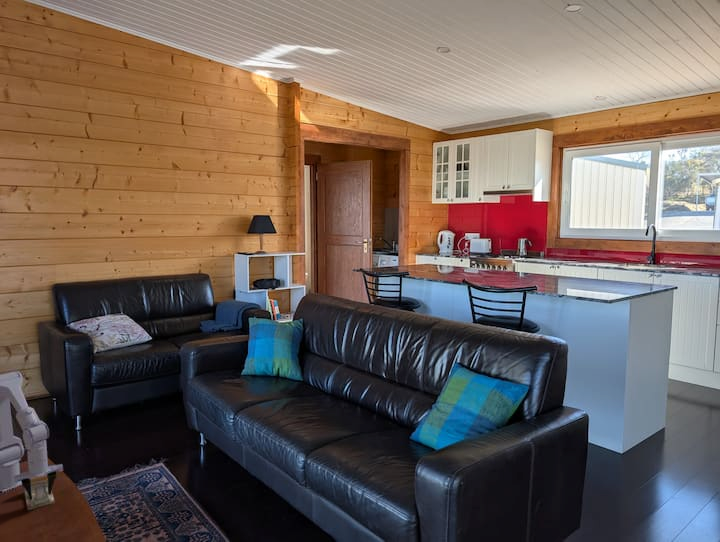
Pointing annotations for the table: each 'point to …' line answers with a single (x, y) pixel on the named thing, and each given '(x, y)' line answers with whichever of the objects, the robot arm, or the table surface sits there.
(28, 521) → the table surface
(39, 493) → the greenish grey block
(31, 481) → the orange brown bar
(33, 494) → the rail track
